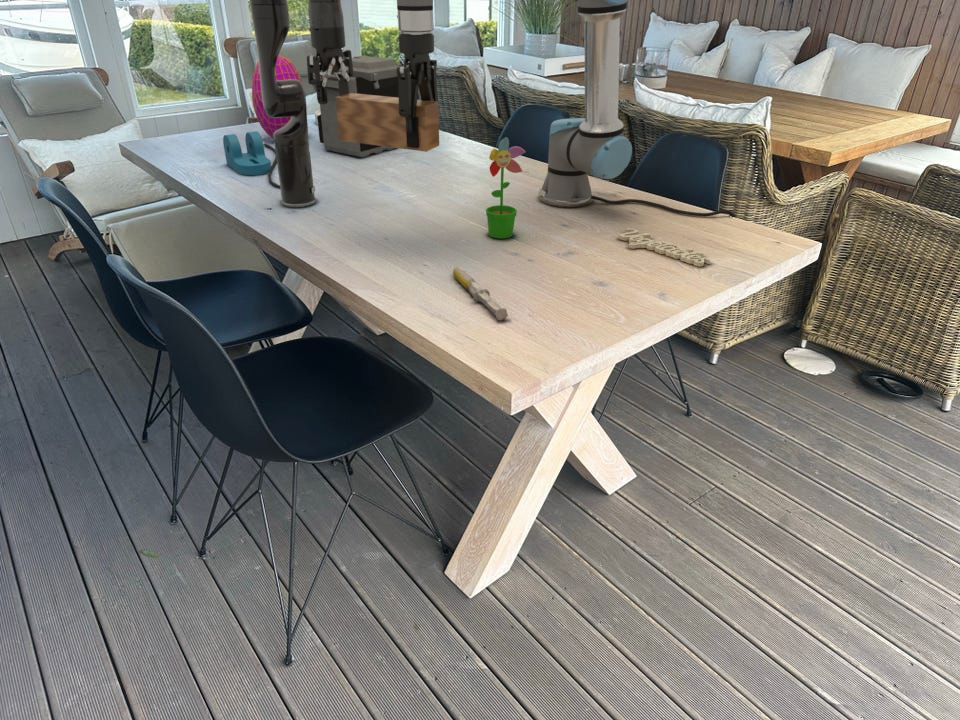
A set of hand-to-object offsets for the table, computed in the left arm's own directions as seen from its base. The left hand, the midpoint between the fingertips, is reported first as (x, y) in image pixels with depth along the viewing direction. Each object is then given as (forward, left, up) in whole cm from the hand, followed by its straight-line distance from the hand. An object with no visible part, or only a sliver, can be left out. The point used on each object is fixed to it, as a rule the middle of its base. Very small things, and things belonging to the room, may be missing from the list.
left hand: (333, 100), depth 161 cm
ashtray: (-118, +70, -32) cm, 141 cm away
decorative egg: (-103, +35, -32) cm, 114 cm away
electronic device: (-75, +56, -32) cm, 99 cm away
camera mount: (-73, +8, -32) cm, 80 cm away
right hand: (+21, +9, -7) cm, 24 cm away
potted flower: (+27, +30, -32) cm, 52 cm away
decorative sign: (+59, +53, -32) cm, 86 cm away
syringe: (+51, +1, -32) cm, 61 cm away
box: (+13, +6, -8) cm, 17 cm away
